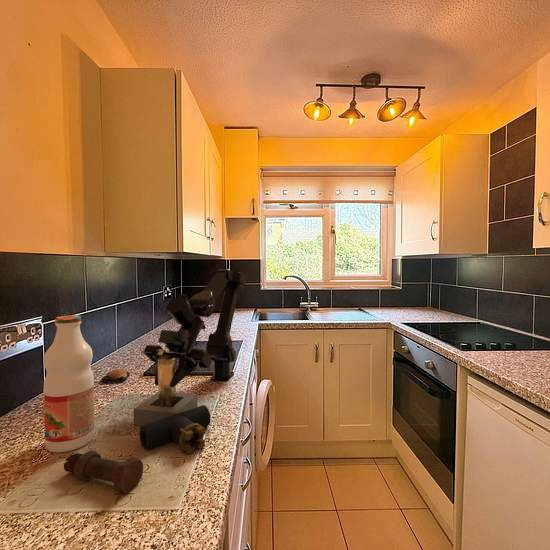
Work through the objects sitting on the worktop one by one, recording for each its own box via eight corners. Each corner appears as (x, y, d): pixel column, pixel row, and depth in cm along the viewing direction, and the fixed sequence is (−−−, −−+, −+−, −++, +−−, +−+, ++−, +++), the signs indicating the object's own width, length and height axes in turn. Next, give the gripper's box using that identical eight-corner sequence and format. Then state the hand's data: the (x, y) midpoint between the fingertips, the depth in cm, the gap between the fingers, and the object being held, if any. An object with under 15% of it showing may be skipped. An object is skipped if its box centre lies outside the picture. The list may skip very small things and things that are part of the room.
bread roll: (105, 376, 115) (105, 366, 115) (131, 374, 117) (131, 364, 117) (98, 387, 105) (98, 376, 105) (126, 384, 107) (126, 373, 107)
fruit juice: (94, 446, 69) (92, 318, 69) (41, 458, 65) (38, 321, 64) (95, 427, 78) (93, 312, 77) (48, 437, 73) (45, 315, 73)
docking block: (159, 405, 90) (158, 391, 90) (197, 408, 88) (196, 394, 88) (134, 424, 79) (133, 408, 79) (176, 429, 77) (176, 412, 77)
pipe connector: (225, 416, 72) (161, 441, 62) (226, 439, 73) (162, 468, 62) (199, 401, 81) (139, 421, 71) (200, 422, 81) (139, 445, 71)
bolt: (74, 478, 62) (137, 494, 57) (51, 480, 58) (117, 497, 53) (86, 445, 64) (147, 456, 60) (65, 444, 60) (129, 456, 55)
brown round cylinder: (158, 408, 85) (157, 356, 84) (175, 406, 86) (175, 354, 86) (158, 416, 81) (157, 361, 80) (176, 413, 82) (175, 359, 82)
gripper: (147, 315, 89) (116, 367, 79) (205, 319, 83) (181, 375, 73) (165, 337, 97) (140, 386, 87) (220, 342, 91) (200, 395, 81)
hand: (163, 385), depth 82 cm, fingers closed on brown round cylinder, 4 cm apart
